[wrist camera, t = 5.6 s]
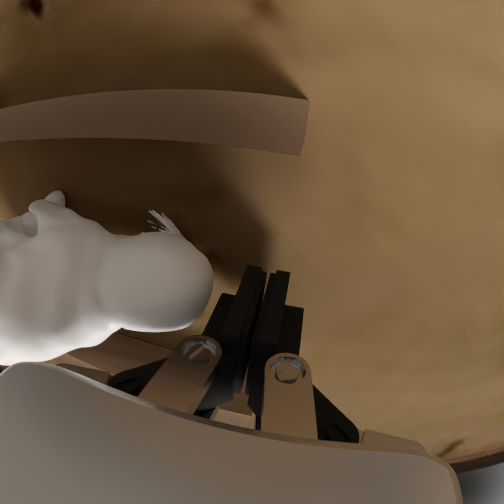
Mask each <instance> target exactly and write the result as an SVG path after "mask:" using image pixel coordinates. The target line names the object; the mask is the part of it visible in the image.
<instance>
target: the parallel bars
mask: <svg viewBox="0 0 504 504" xmlns="http://www.w3.org/2000/svg"><path fill="white" fill-rule="evenodd" d="M309 102H310V101H309V100H305V99H298V98H291V97H284V96H277V95H268V94H259V93H249V92H237V91H223V90H203V89H143V90H123V91H109V92H98V93H88V94H80V95H72V96H65V97H58V98H52V99H46V100H40V101H35V102H30V103H25V104H20V105H16V106H11V107H7V108H3V109H0V142H8V141H20V140H35V139H55V138H132V139H154V140H171V141H184V142H196V143H207V144H217V145H226V146H234V147H242V148H250V149H258V150H265V151H271V152H278V153H284V154H290V155H296V156H300V153H301V150H302V146H303V143H304V137H305V130H306V123H307V116H308V109H309ZM173 351H174V350H171V349H168V348H164V347H161V346H158V345H154V344H151V343H148V342H145V341H142V340H139V339H136V338H132V337H129V336H127V335H124V334H121V333H118V332H114V333H112V334H111V335H110V336H109V337H108V338H107V339H106V340H104V341H103V342H102V343H100V344H98V345H96V346H93V347H82V348H77V349H74V350H72V351H69V352H67V353H65V354H63V355H61V356H59V357H56V358H54V360H56V361H57V362H59V363H66V364H71V365H76V366H81V367H86V368H91V369H97V370H102V371H108V372H110V374H111V375H116V374H118V373H120V372H122V371H126V370H129V369H132V368H136V367H139V366H142V365H145V364H149V363H152V362H155V361H158V360H161V359H164V358H167V357H169V356H170V355H171V353H172V352H173ZM247 372H248V369H247ZM247 372H246V375H245V379H244V382H243V386H242V389H241V393H240V394H237V393H235V394H234V397H233V401H232V400H230V401H228V402H226V403H224V404H221V405H220V408H219V411H218V413H217V414H216V416H215V418H214V421H218V422H222V423H226V424H231V425H235V426H240V427H244V428H249V425H250V421H251V417H252V413H253V411H252V410H251V409H250V408H249V406H248V405H247V403H248V397H249V396H247V395H244V394H245V387H246V379H247Z"/></svg>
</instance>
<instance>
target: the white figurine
mask: <svg viewBox="0 0 504 504" xmlns="http://www.w3.org/2000/svg"><path fill="white" fill-rule="evenodd" d="M28 209H29V211H28V212H26V213H24V214H23V215H22V216H16V217H13V218H11V219H8V220H5V219H0V365H9V366H11V365H13V364H15V363H19V362H39V361H47V360H51V359H54V358H56V357H59V356H61V355H63V354H65V353H67V352H69V351H72V350H74V349H77V348H82V347H93V346H96V345H98V344H100V343H102V342H103V341H104V340H106V339H107V338H108V337H109V336H110V335H111V334H112V333H114V332H116V331H117V330H119V329H120V328H121V327H122V328H124V329H127V330H132V331H140V332H166V331H174V330H179V329H182V328H185V327H187V326H189V325H190V324H192V323H193V322H194V321H196V320H197V319H198V318H199V317H200V315H201V314H202V313H203V311H204V309H205V308H206V306H207V303H208V301H209V298H210V295H211V292H212V288H213V271H212V268H211V265H210V263H209V261H208V259H207V258H206V256H204V255H203V254H202V253H201V252H200V251H198V250H197V249H196V248H195V247H194V245H193V244H192V243H191V242H189V241H187V240H186V239H185V238H184V237H183V236H182V235H181V233H180V232H179V230H178V229H177V228H176V226H175V225H174V224H173V223H172V221H171V220H170V219H169V218H167V217H165V215H164V214H165V213H164V212H163V213H164V214H163V213H161V214H162V215H163V217H164V218H165V219H164V218H163V217H162V216H160V215H159V214H158V213H156V212H155V211H154V210H152V212H153V213H152V212H151V211H149V210H148V211H149V212H150V213H151V214H152V215H153V216H154V217H156V218H157V219H158V220H159V221H160V222H161V223H162V224H163V225H165V226H166V227H167V228H165V227H163V226H161V227H163V228H164V229H166V231H164V230H161V229H159V230H161V231H162V232H160V231H159V232H146V233H144V232H142V233H141V234H139V235H134V236H128V235H115V234H112V233H110V232H108V231H107V230H106V229H104V228H103V227H102V226H101V225H100V224H99V223H97V222H95V221H93V220H89V219H86V218H83V217H81V216H79V215H78V214H77V213H75V212H74V211H73V210H71V209H68V208H66V207H65V197H64V194H63V193H62V192H61V191H54V192H52V193H50V194H49V195H48V196H47V197H46V198H45V199H39V200H36V201H34V202H32V203H31V204H30V205H29V208H28ZM150 209H151V208H150ZM168 219H169V220H168ZM149 222H150V221H149ZM151 223H152V222H151ZM153 224H154V223H153ZM155 225H157V224H155ZM158 226H159V225H158ZM151 227H152V226H151ZM153 228H154V227H153ZM155 229H157V228H155ZM167 230H168V231H169V232H168V231H167Z"/></svg>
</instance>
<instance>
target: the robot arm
mask: <svg viewBox="0 0 504 504" xmlns="http://www.w3.org/2000/svg"><path fill="white" fill-rule="evenodd" d="M266 274H267V272H264V271H262V267H257V266H252V265H248V267H247V269H246V271H245V274H244V276H243V279H242V281H241V284H240V286H239V288H238V291H237V293H236V295H231V294H226V293H222V294H221V296H220V298H219V300H218V302H217V304H216V307H215V309H214V311H213V313H212V315H211V317H210V319H209V321H208V323H207V325H206V328H205V330H204V332H203V334H202V335H194V336H190V337H188V338H185V339H184V340H183V341H181V342H180V343H179V345H178V346H177V347H176V348H175V350H174V351H173V352H172V353H171V355H170V356H169V357H167V358H164V359H161V360H158V361H155V362H152V363H149V364H145V365H142V366H139V367H136V368H132V369H129V370H126V371H122V372H120V373H118V374H116V375H111V374H110V372H108V371H102V370H97V369H91V368H86V367H81V366H76V365H71V364H66V363H60V364H57V365H51V364H46V363H40V362H19V363H15V364H13V365H11V366H9V367H8V368H7V369H5V370H4V371H3V372H2V373H1V374H0V504H463V501H462V494H461V490H460V486H459V482H458V479H457V476H456V474H455V472H454V470H453V469H452V467H451V466H450V465H449V464H448V463H446V462H445V461H443V460H442V459H440V458H438V457H436V456H433V455H431V454H428V453H426V451H425V449H424V447H423V446H422V445H421V444H420V443H418V442H416V441H413V440H409V439H404V438H400V437H396V436H392V435H387V434H383V433H380V432H376V431H372V430H368V429H366V430H365V431H361V430H358V429H357V428H356V426H355V425H354V424H353V423H352V422H351V421H350V420H349V419H348V418H347V417H346V416H345V415H344V414H343V413H342V412H341V411H340V410H339V409H337V408H336V407H335V406H334V405H333V404H332V403H331V402H330V401H329V400H328V399H327V398H326V397H325V396H324V395H323V394H322V393H321V392H320V391H319V390H318V389H317V388H316V387H315V386H314V385H313V384H312V377H311V370H310V367H309V365H308V363H307V362H306V361H305V360H304V359H303V358H301V357H300V356H299V350H300V341H301V332H302V322H303V312H304V308H300V307H294V306H288V305H285V300H286V295H287V289H288V283H289V277H290V272H285V271H279V270H277V271H276V274H275V273H271V274H270V277H269V281H268V284H267V288H266V292H265V295H264V289H265V282H266ZM263 296H264V299H263ZM247 368H248V372H247ZM246 372H247V379H246V387H245V394H244V395H247V396H249V397H248V403H247V405H248V406H249V408H250V409H251V410H252V411H253V413H254V414H255V418H254V429H249V428H244V427H240V426H235V425H231V424H226V423H222V422H218V421H214V418H215V416H216V414H217V413H218V411H219V408H220V405H221V404H224V403H226V402H228V401H230V400H232V401H233V397H234V394H235V393H237V394H240V393H241V389H242V386H243V382H244V379H245V375H246Z"/></svg>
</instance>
